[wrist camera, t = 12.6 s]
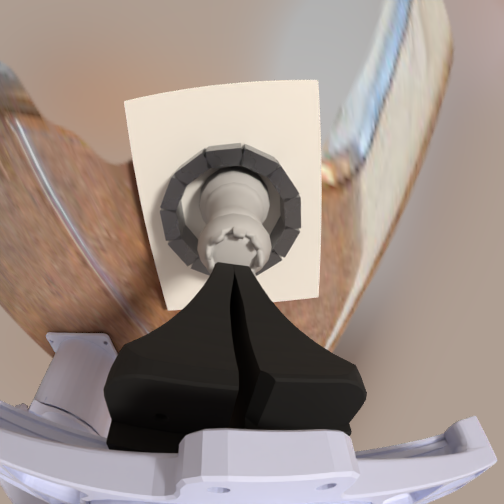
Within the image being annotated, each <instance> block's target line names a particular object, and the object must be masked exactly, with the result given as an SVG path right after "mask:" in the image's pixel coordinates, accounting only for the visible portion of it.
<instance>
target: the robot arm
mask: <svg viewBox="0 0 504 504" xmlns="http://www.w3.org/2000/svg"><path fill="white" fill-rule="evenodd" d="M46 338H47V340H48V341H49V343H50V345H51V347H52V348H53V350H54V352H55V353H56V354H55V355H54V357H53V359H52V361H51V363H50V365H49V368H48V369H47V372H46V374H45V376H44V378H43V380H42V382H41V384H40V386H39V388H38V391H37V393H36V395H35V397H34V400H33V402H32V403H31V405H30V407H29V408H28V406H27V405H26V404H24V403H22V404H21V405H20V404H19V405H16V406H15V407H14V406H12V405H10V404H7V403H5V402H3V401H1V400H0V485H1V487H2V488H3V490H4V491H5V493H6V494H7V496H8V497H9V499H10V500H11V502H12V503H13V504H427V503H429V502H431V501H434V500H436V499H439V498H441V497H443V496H446V495H448V494H450V493H452V492H454V491H457V490H458V489H460V488H461V487H463V486H464V485H466V484H468V483H469V482H470V481H471V480H473V479H475V478H476V477H477V476H479V475H480V474H482V473H483V472H484V471H486V470H487V469H488V468H490V467H491V466H492V465H494V464H495V463H496V462H497V458H496V456H495V454H494V451H493V449H492V447H491V445H490V443H489V441H488V439H487V437H486V435H485V433H484V431H483V429H482V427H481V425H480V423H479V421H478V419H477V417H476V416H472V417H469V418H465V419H462V420H459V421H457V422H455V423H454V424H452V425H451V426H450V427H449V428H448V429H447V430H446V431H445V432H444V434H440V435H436V436H433V437H429V438H425V439H421V440H417V441H412V442H408V443H403V444H398V445H393V446H388V447H382V448H377V449H370V450H364V451H357V452H354V449H353V445H352V441H351V438H350V437H349V436H350V435H351V428H350V425H349V422H350V421H351V420H352V419H353V417H354V416H355V415H356V413H357V412H358V411H359V410H360V408H361V407H362V405H363V404H364V402H365V400H366V395H367V392H366V390H365V387H364V384H363V381H362V378H361V376H360V373H359V371H358V369H357V367H356V365H354V364H352V363H350V362H348V361H346V360H344V359H342V358H340V357H338V356H337V355H335V354H333V353H331V352H330V351H328V350H326V349H325V348H323V347H322V346H320V345H319V344H317V343H316V342H314V341H313V340H312V339H310V338H309V337H308V336H306V335H305V334H304V333H303V332H301V331H300V330H299V329H298V328H297V327H296V326H294V325H293V324H292V323H291V322H290V321H289V320H288V319H287V318H286V317H285V316H284V315H283V314H282V313H281V312H280V310H279V309H278V308H277V307H276V306H275V304H274V303H273V302H272V301H271V299H270V298H269V297H268V295H267V294H266V292H265V291H264V289H263V288H262V286H261V285H260V283H259V282H258V280H257V278H256V277H255V275H254V273H253V272H252V270H251V268H250V267H249V266H244V265H236V264H229V263H222V262H217V263H216V264H215V265H214V268H213V271H212V273H211V274H210V276H209V278H208V279H207V281H206V282H205V284H204V285H203V287H202V288H201V289H200V291H199V292H198V293H197V294H196V295H195V297H194V298H193V299H192V300H191V301H190V302H189V303H188V304H187V305H186V306H185V307H184V308H183V309H182V310H181V311H180V312H179V313H178V314H176V315H175V316H174V317H173V318H172V319H170V320H169V321H168V322H166V323H165V324H163V325H162V326H160V327H159V328H157V329H156V330H154V331H152V332H151V333H149V334H147V335H145V336H143V337H141V338H139V339H137V340H134V341H132V342H130V343H127V344H125V345H124V346H123V348H122V349H121V351H120V352H119V354H117V352H116V350H115V348H114V346H113V344H112V341H111V339H110V337H109V336H108V335H107V334H105V333H55V332H48V333H47V334H46ZM105 341H106V342H105ZM27 408H28V409H27Z"/></svg>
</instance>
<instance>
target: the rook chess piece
mask: <svg viewBox="0 0 504 504" xmlns="http://www.w3.org/2000/svg"><path fill="white" fill-rule="evenodd" d="M269 207H270V198H269V193H268V188H267V186H266V184H265V183H264V181H263V180H262V178H261V177H260V176H259V175H258V174H256V173H255V172H253V171H251V170H250V169H248V168H244V167H238V166H230V167H226V168H221V169H219V170H217V171H216V172H214V173H213V174H212V175H210V176H209V177H208V178H207V180H206V181H205V183H204V184H203V186H202V188H201V192H200V199H199V209H200V212H201V216H202V219H203V221H204V222H205V223H206V226H205V227H204V229H203V230H202V232H201V234H200V235H199V238H198V246H197V251H198V254H199V257H200V260H201V262H202V263H203V264H204V266H205V267H206V268H207V271H208V272H209V273H210V274H211V273H212V271H213V268H214V265H215V264H216V263H217V262H222V263H229V264H236V265H244V266H249V267H250V268H251V270H252V272H253V273H254V275H255V277H256V273H257V272H258V271H260V270H261V269H263V266H264V265H265V264H266V262H267V261H268V260H269V256H270V252H271V248H272V246H271V241H270V236H269V233H268V232H267V231H266V229H265V228H264V227H263V225H262V224H263V222H264V221H265V219H266V218H267V215H268V211H269Z"/></svg>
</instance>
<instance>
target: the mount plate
mask: <svg viewBox="0 0 504 504" xmlns="http://www.w3.org/2000/svg"><path fill="white" fill-rule="evenodd" d="M124 106H125V113H126V121H127V128H128V134H129V141H130V147H131V153H132V159H133V165H134V170H135V176H136V181H137V186H138V191H139V196H140V201H141V206H142V211H143V215H144V220H145V224H146V228H147V233H148V237H149V241H150V245H151V249H152V253H153V257H154V261H155V265H156V269H157V273H158V277H159V280H160V284H161V288H162V291H163V295H164V298H165V302H166V305H167V309H168V310H182V309H183V308H184V307H185V306H186V305H187V304H188V303H189V302H190V301H191V300H192V299H193V298H194V297H195V295H196V294H197V293H198V292H199V291H200V289H201V288H202V287H203V285H204V284H205V282H206V281H207V279H208V278H209V275H206V274H204V273H201V272H198V271H196V270H193V269H191V265H192V264H191V265H189V266H187V265H186V264H185V263H184V262H183V261H182V260H181V259H180V258H179V256H178V255H177V254H176V253H175V252H174V251H173V250H172V249H171V248H170V246H169V245H168V242H169V241H166V239H165V234H164V230H163V225H162V220H161V215H160V210H161V208H160V206H161V203H162V201H163V198H164V195H165V192H166V190H167V187H168V185H169V182H170V179H171V177H172V176H173V174H174V173H175V172H176V171H177V169H178V168H179V167H180V166H181V165H182V164H184V163H185V162H186V161H187V160H189V159H190V158H191V157H193V156H194V155H195V154H197V153H198V152H200V151H201V150H202V149H204V148H205V149H206V150H207V148H208V146H215V145H224V144H234V143H241V147H242V148H243V146H244V144H247V145H249V146H252V147H254V148H256V149H258V150H260V151H262V152H265V153H267V154H269V155H271V156H273V157H274V158H275V159H276V160H278V162H279V163H280V165H281V166H282V168H283V169H284V171H285V172H286V174H287V175H288V177H289V178H290V180H291V181H292V183H293V184H294V186H295V187H296V189H297V190H298V192H299V195H300V197H301V228H299V230H300V233H299V235H298V236H297V238H296V240H295V242H294V243H293V245H292V247H291V248H290V250H289V252H288V253H287V255H286V257H285V258H284V257H282V256H281V257H282V261H280V262H279V263H277V264H275V265H274V266H272V267H271V268H269V269H267V270H266V271H264V272H262V273H261V274H259V275H257V276H256V278H257V280H258V282H259V283H260V285H261V286H262V288H263V289H264V291H265V292H266V294H267V295H268V297H269V298H270V299H271V301H272V302H279V301H289V300H298V299H307V298H315V297H318V295H319V275H320V249H321V133H320V107H319V89H318V80H277V81H257V82H243V83H231V84H223V85H222V84H221V85H213V86H205V87H197V88H190V89H183V90H177V91H171V92H166V93H160V94H155V95H150V96H145V97H140V98H136V99H131V100H127V101H124ZM228 167H230V166H228ZM238 167H243V166H241V165H239V166H238ZM221 168H226V167H219V168H210V169H209V170H207V171H206V172H204V173H203V174H202V175H200V176H199V177H198V178H196V179H195V180H194V181H192V182H191V183H189V184H188V185H187V188H186V190H185V193H184V195H183V198H182V200H181V202H182V208H183V213H184V219H185V225H186V226H187V227H188V228H189V229H190V230H191V232H192V233H193V234H194V235H195V236H196V238H197V239H198V238H199V235H200V234H201V232H202V230H203V229H204V227H205V226H206V223H205V222H204V221H203V219H202V216H201V212H200V209H199V199H200V192H201V188H202V186H203V184H204V183H205V181H206V180H207V178H208V177H209V176H210V175H212V174H213V173H214V172H216V171H217V170H219V169H221ZM244 168H245V167H244ZM251 171H252V170H251ZM253 172H254V171H253ZM255 173H256V174H258V175H259V176H260V177H261V178H262V180H263V181H264V183H265V184H266V186H267V188H268V193H269V198H270V207H269V211H268V215H267V218H266V219H265V221H264V222H263V224H262V225H263V227H264V228H265V229H266V231H267V232H268V233H269V236H270V234H271V232H272V230H273V228H274V227H275V225H276V223H277V221H278V219H279V217H280V216H281V213H280V194H279V193H278V191H277V190H276V188H275V187H274V186H273V184H272V183H271V181H270V180H269V178H268V177H266V176H263V175H261V174H259V173H257V172H255Z"/></svg>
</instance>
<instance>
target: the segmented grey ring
mask: <svg viewBox="0 0 504 504" xmlns="http://www.w3.org/2000/svg"><path fill="white" fill-rule="evenodd" d="M239 165H241V166H243V167H245V168H248V169H250V170H252V171H254V172H257V173H259V174H261V175H263V176H266V177H268V178H269V180H270V181H271V183H272V184H273V186H274V187H275V188H276V190H277V191H278V193H279V194H280V213H281V216H280V217H279V219H278V221H277V223H276V225H275V227H274V228H273V230H272V232H271V234H270V241H271V246H272V248H271V252H270V256H269V260H268V261H267V262H266V264H265V265H264V266H263V269H261V270H260V271H258V272H257V273H256V276H257V275H259V274H261V273H262V272H264V271H266V270H267V269H269V268H271V267H272V266H274V265H275V264H277V263H279V262H280V261H282V257H284V258H285V257H286V255H287V253H288V252H289V250H290V248H291V247H292V245H293V243H294V242H295V240H296V238H297V236H298V235H299V233H300V230H299V228H301V197H300V195H299V192H298V190H297V189H296V187H295V186H294V184H293V183H292V181H291V180H290V178H289V177H288V175H287V174H286V172H285V171H284V169H283V168H282V166H281V165H280V163H279V162H278V160H276V159H275V158H274V157H273V156H271V155H269V154H267V153H265V152H262V151H260V150H258V149H256V148H254V147H252V146H249V145H247V144H244V146H243V148H242V147H241V143H234V144H224V145H215V146H208V148H207V150H206V149H205V148H204V149H202V150H201V151H200V152H198V153H197V154H195V155H194V156H193V157H191V158H190V159H189V160H187V161H186V162H185V163H184V164H182V165H181V166H180V167H179V168H178V169H177V171H176V172H175V173H174V174H173V176H172V177H171V179H170V182H169V185H168V187H167V190H166V192H165V195H164V198H163V201H162V203H161V206H160V208H161V210H160V215H161V220H162V225H163V230H164V234H165V239H166V241H169V242H168V245H169V246H170V248H171V249H172V250H173V251H174V252H175V253H176V254H177V255H178V256H179V258H180V259H181V260H182V261H183V262H184V263H185V264H186V265H187V266H189V265H191V264H192V265H191V269H193V270H196V271H198V272H201V273H204V274H206V275H209V276H210V273H209V272H208V271H207V268H206V267H205V266H204V264H203V263H202V262H201V260H200V257H199V254H198V251H197V246H198V239H197V238H196V236H195V235H194V234H193V233H192V232H191V230H190V229H189V228H188V227H187V226H186V225H185V219H184V213H183V208H182V202H181V200H182V198H183V195H184V193H185V190H186V188H187V185H188V184H189V183H191V182H192V181H194V180H195V179H196V178H198V177H199V176H200V175H202V174H203V173H204V172H206V171H207V170H209V169H210V168H219V167H228V166H239ZM281 256H282V257H281Z"/></svg>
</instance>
